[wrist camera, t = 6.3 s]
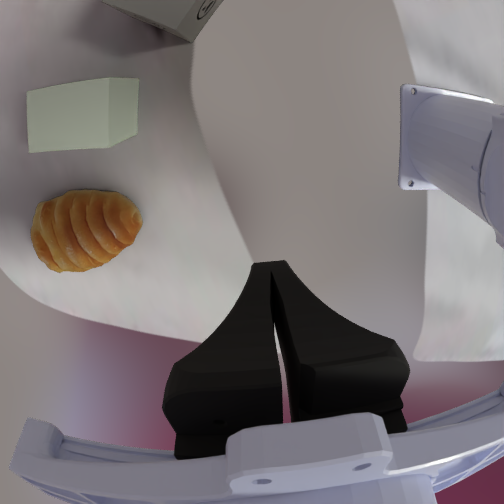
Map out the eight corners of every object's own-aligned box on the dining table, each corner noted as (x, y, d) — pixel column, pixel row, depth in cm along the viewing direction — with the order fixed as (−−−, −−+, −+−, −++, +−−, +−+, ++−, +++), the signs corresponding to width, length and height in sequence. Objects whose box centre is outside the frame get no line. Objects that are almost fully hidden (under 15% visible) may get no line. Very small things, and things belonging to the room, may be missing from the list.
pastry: (128, 166, 20) (107, 182, 17) (157, 245, 24) (144, 272, 21) (39, 200, 21) (14, 220, 18) (70, 266, 25) (51, 291, 21)
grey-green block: (139, 78, 17) (109, 77, 13) (137, 134, 19) (108, 148, 15) (66, 86, 17) (26, 91, 13) (67, 137, 19) (29, 153, 15)
